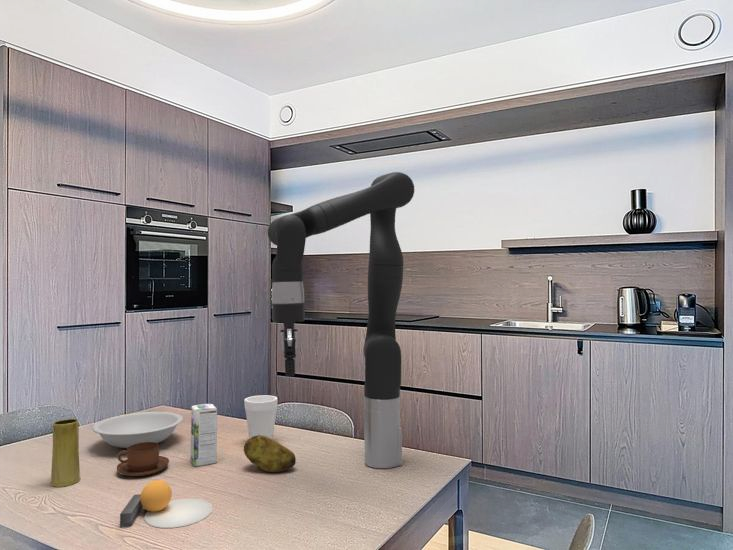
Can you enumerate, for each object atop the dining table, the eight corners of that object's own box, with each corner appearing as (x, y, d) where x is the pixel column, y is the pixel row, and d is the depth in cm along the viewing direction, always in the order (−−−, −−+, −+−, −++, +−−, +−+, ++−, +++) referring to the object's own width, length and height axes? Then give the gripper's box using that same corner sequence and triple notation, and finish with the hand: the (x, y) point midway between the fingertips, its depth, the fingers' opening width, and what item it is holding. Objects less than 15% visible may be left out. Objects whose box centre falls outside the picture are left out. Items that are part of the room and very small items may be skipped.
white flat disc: (216, 497, 112) (216, 496, 112) (207, 525, 99) (207, 524, 99) (154, 501, 110) (154, 500, 110) (136, 530, 97) (136, 529, 97)
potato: (277, 479, 122) (277, 445, 122) (238, 469, 129) (238, 437, 129) (299, 468, 129) (299, 436, 129) (260, 459, 136) (260, 429, 136)
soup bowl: (200, 440, 153) (200, 418, 153) (124, 465, 132) (125, 439, 133) (150, 428, 166) (150, 407, 166) (74, 449, 145) (74, 425, 145)
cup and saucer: (115, 483, 120) (115, 457, 121) (117, 467, 131) (117, 442, 132) (170, 476, 125) (170, 450, 125) (167, 460, 136) (167, 437, 136)
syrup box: (189, 460, 135) (189, 405, 136) (212, 456, 138) (212, 402, 138) (194, 467, 130) (194, 410, 131) (217, 463, 133) (217, 407, 133)
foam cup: (238, 443, 150) (238, 398, 150) (266, 436, 156) (266, 393, 156) (255, 451, 143) (255, 404, 143) (283, 444, 149) (283, 399, 149)
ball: (141, 487, 109) (158, 509, 109) (129, 499, 103) (147, 523, 103) (164, 470, 109) (181, 492, 109) (154, 481, 103) (171, 504, 103)
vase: (86, 479, 123) (86, 419, 123) (63, 488, 117) (64, 426, 117) (67, 476, 125) (67, 417, 125) (44, 485, 119) (44, 423, 119)
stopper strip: (144, 506, 108) (144, 494, 108) (131, 526, 99) (131, 513, 99) (134, 506, 108) (134, 494, 108) (120, 527, 99) (120, 513, 99)
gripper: (305, 301, 114) (308, 380, 114) (302, 299, 127) (304, 370, 127) (271, 303, 113) (273, 382, 113) (272, 301, 126) (273, 371, 126)
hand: (290, 375), depth 120 cm, fingers closed
